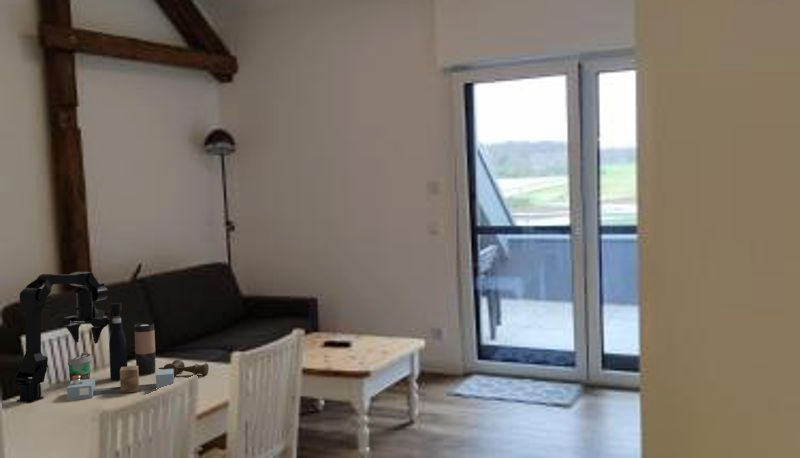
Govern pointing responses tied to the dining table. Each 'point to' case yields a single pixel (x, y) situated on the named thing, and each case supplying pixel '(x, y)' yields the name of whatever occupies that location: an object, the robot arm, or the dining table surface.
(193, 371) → the kendama
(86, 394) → the cabinet
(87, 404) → the dining table surface
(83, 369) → the food container
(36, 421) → the dining table surface
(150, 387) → the rail
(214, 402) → the dining table surface
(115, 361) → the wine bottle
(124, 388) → the block
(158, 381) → the end block
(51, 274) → the robot arm
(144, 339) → the travel mug
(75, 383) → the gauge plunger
